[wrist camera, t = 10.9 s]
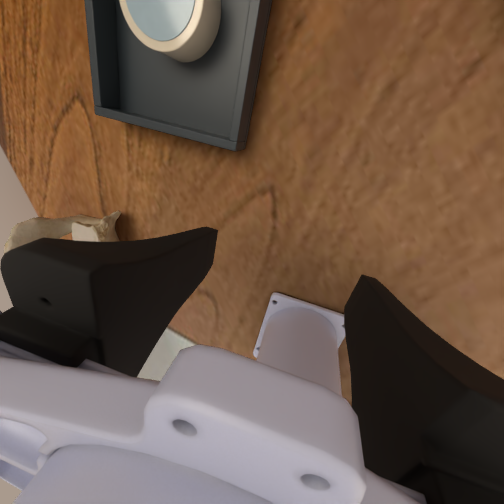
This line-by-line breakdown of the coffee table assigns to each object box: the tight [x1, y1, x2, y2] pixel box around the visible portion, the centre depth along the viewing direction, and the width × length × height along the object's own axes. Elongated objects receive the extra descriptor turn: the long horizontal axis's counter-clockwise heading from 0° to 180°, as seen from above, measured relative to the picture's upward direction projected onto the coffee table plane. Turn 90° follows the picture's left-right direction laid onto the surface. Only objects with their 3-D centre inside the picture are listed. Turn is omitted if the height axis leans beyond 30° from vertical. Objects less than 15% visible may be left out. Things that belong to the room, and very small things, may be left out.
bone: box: [4, 210, 121, 254], centre depth 23 cm, size 9×6×10 cm
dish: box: [119, 0, 221, 62], centre depth 14 cm, size 5×5×3 cm
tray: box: [84, 0, 272, 151], centre depth 15 cm, size 14×11×2 cm
